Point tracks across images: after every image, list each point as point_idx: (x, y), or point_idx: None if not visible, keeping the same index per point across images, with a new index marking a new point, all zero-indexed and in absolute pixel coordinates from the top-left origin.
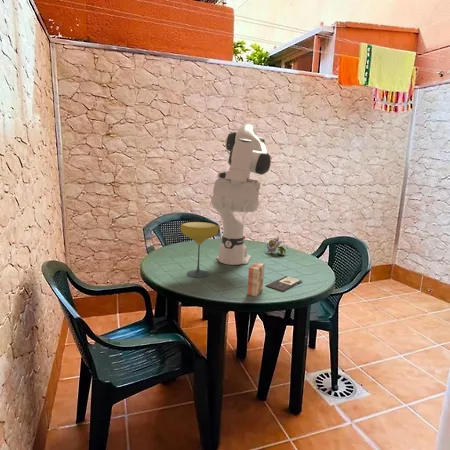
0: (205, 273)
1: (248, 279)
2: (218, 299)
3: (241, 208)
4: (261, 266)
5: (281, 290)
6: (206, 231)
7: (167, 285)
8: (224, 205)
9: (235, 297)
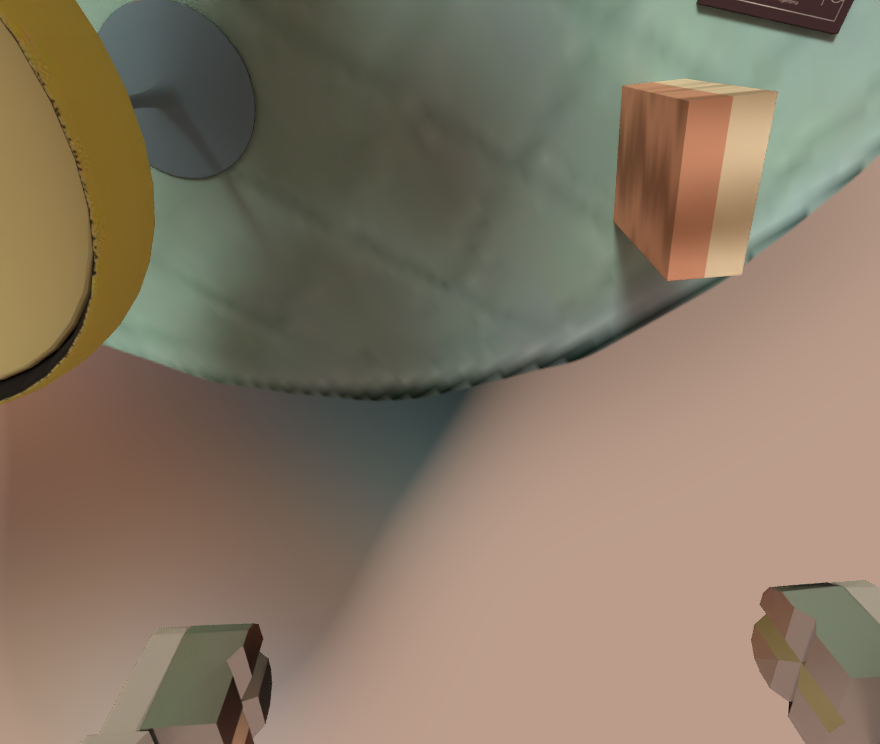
0: (222, 78)
1: (642, 249)
2: (506, 356)
3: (808, 715)
4: (757, 186)
5: (825, 30)
6: (121, 312)
7: (211, 357)
8: (243, 705)
9: (569, 293)
